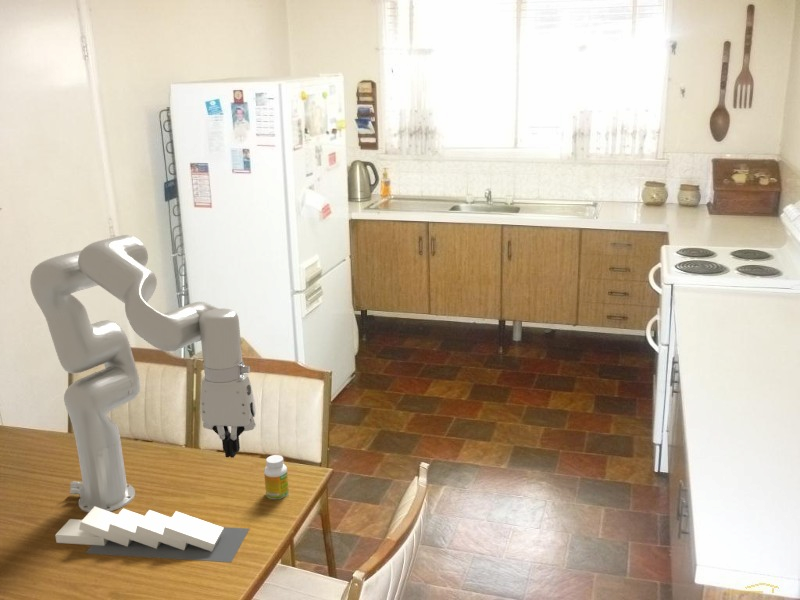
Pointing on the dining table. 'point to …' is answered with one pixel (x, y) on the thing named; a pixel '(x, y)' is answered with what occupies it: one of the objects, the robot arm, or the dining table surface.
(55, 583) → the dining table surface
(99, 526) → the domino
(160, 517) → the domino
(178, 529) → the domino
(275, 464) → the supplement bottle
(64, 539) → the domino
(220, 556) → the mat
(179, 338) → the robot arm
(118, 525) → the domino
